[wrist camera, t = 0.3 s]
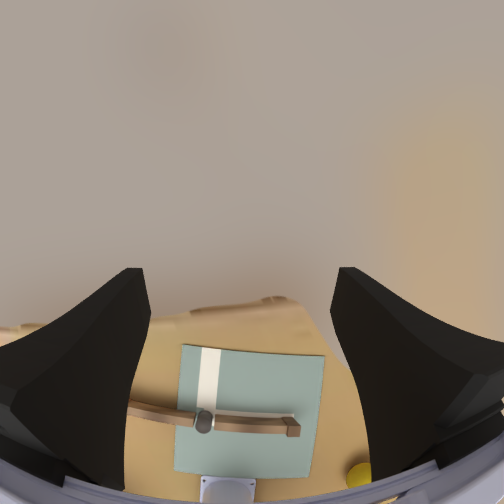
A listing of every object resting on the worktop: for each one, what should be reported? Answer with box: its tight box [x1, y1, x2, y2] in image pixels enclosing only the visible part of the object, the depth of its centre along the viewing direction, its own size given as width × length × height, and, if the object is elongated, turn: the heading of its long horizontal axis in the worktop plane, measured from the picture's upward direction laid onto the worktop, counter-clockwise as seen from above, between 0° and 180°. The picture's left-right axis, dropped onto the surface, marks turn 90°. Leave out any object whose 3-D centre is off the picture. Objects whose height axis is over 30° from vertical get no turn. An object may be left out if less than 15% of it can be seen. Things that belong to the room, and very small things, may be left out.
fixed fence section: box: [195, 410, 301, 437], centre depth 32 cm, size 13×2×5 cm, turn 84°
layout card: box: [174, 345, 325, 479], centre depth 35 cm, size 20×20×1 cm
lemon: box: [346, 463, 371, 489], centre depth 29 cm, size 6×6×8 cm
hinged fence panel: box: [127, 399, 196, 428], centre depth 31 cm, size 11×2×4 cm, turn 84°
